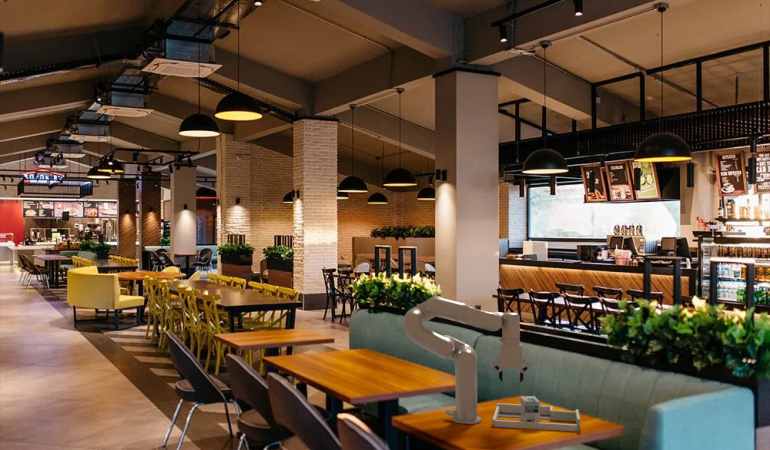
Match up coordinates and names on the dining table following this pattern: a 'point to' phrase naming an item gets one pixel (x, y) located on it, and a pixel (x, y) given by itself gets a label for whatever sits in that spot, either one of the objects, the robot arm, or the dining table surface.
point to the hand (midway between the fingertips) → (511, 381)
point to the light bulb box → (530, 409)
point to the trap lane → (545, 413)
